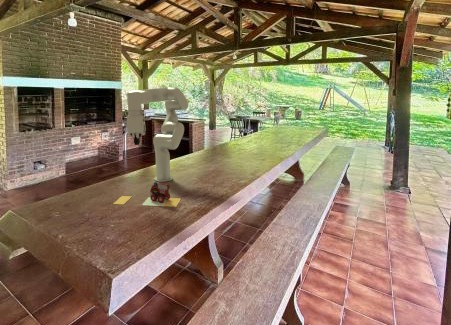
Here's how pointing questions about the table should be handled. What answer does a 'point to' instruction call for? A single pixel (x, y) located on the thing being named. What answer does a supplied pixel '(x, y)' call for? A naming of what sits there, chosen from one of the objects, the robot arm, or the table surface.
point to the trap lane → (170, 202)
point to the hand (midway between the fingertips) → (136, 144)
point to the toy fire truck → (159, 192)
